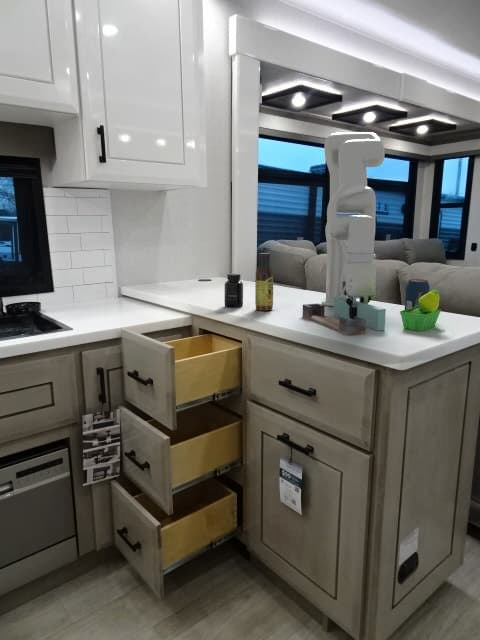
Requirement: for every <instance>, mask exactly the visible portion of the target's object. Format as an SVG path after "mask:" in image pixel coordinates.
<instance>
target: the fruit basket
mask: <svg viewBox="0 0 480 640" xmlns="http://www.w3.org/2000/svg"><path fill="white" fill-rule="evenodd" d="M440 296H441V295H440V293H439V291H438V290H437V289H432V290H429V293H427V294H426V295H423V296H422V297H421V298H419V300H418V303H419V307H414V308H410V309H406V310H405V309H403V310H399V313H400V316H401V322H402V325H403V329H406V330H411V331H418V332H423V331H425V330H428V329H431V328H434V327H435V326H436V323H437V321H438V318H439V316H440V314H441V311H442V310H441V309H438V308H439V305H440V299H441V297H440Z"/></svg>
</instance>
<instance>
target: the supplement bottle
mask: <svg viewBox="0 0 480 640" xmlns="http://www.w3.org/2000/svg"><path fill="white" fill-rule="evenodd" d="M226 277H227V278H226V279H227V280H226V281H225V282H224V307H225V308H228V309H240V308H242V307H243V305H244V283H243V282H242V281H241V274H240V273H228V274H227V275H226Z"/></svg>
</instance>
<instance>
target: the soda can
mask: <svg viewBox="0 0 480 640" xmlns="http://www.w3.org/2000/svg"><path fill="white" fill-rule="evenodd" d="M405 286H406V287H405V299H404V300H405V301H404V310H406V309H410V308H414V307H419V303H418V300H419V298H421V297H422V296H423V295H426V294H427V293H429V292H430V287H431V286H430V283H429V280H427V279H421V278H420V279H418V278H417V279H415V278H413V279H408V281H407V284H406V285H405Z"/></svg>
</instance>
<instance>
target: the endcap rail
mask: <svg viewBox="0 0 480 640" xmlns="http://www.w3.org/2000/svg"><path fill="white" fill-rule="evenodd" d="M325 314H326V305H323V304H322V303H307V304H302V318H305V319H307V320H309V321H312V322H314V323H316V324H319V325H322V326H324V327H326V328H328V329H331V330H333V331H335V332H338V333H341V334H343V335H345V336H359V335H365V334H366V332H367V331H366V330H367V327H366V319H363V318H360V317H357V316H356V317H354V320H348V319H345V318H341V317H339V320H338V319H334V318H332V317H329V316H326V315H325Z"/></svg>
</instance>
